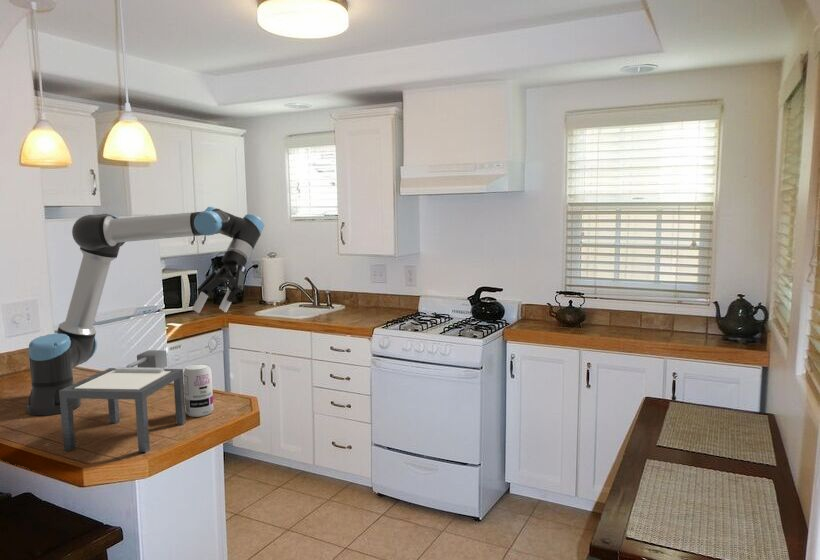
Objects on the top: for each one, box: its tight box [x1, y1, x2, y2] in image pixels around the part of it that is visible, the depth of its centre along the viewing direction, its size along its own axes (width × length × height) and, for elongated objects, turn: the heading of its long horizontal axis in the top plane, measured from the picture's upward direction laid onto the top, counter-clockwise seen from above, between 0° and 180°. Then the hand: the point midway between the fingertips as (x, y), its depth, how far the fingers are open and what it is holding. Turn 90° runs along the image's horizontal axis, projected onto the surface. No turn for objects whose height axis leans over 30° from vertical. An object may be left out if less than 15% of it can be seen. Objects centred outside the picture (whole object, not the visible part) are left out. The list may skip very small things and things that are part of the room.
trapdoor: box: [74, 349, 171, 390], centre depth 180 cm, size 18×35×5 cm, turn 174°
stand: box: [59, 367, 187, 454], centre depth 173 cm, size 23×23×16 cm
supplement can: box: [183, 363, 214, 418], centre depth 192 cm, size 8×8×15 cm
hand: (208, 310), depth 194 cm, fingers open, 13 cm apart
